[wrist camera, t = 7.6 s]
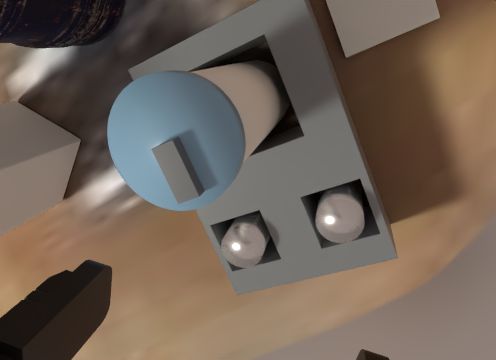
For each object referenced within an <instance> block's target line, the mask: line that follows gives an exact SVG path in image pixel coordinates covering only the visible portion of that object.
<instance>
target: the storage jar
mask: <svg viewBox="0 0 496 360" xmlns="http://www.w3.org/2000/svg"><path fill="white" fill-rule="evenodd" d="M125 4H126V0H0V43H13V44H15V45H18V46H24V47H31V48H60V47H68V46H84V45H90V44H94V43H96V42H98V41H101V40H102V39H103V38H105V37H106V36H108V35H109V34H110V33H111V32H112V31H113V30H114V28H115V27H116V25H117V24H118V22H119V20H120V18H121V16H122V14H123V11H124V8H125Z"/></svg>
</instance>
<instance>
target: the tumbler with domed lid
mask: <svg viewBox="0 0 496 360" xmlns="http://www.w3.org/2000/svg"><path fill="white" fill-rule="evenodd" d="M289 102H290V98H289V95H288V93H287V90H286V88H285V85H284V82H283V80H282V77H281V75H280V72H279V70H278V69H277V68H276V67H275V66H273V65H271V64H270V63H267V62H264V61H259V60H253V61H246V62H241V63H235V64H230V65H225V66H219V67H214V68H209V69H203V70H198V71H193V72H187V71H178V70H173V71H163V72H157V73H152V74H148V75H145V76H142V77H140V78H138V79H136V80H135V81H133V82H131V83H130V84H129V85H128V86H126V87H125V88H124V89H123V91H122V92H121V93H120V94H119V95H118V97H117V99H116V100H115V102H114V104H113V106H112V109H111V112H110V115H109V119H108V127H107V137H108V145H109V150H110V154H111V157H112V160H113V162H114V164H115V166H116V168H117V170H118V172H119V174H120V175H121V177H122V178H123V179H124V181H125V182H126V183H127V184H128V185H129V187H130V188H131V189H132V190H133V191H135V192H136V193H137V194H138V195H139V196H141V197H142V198H144V199H145V200H147V201H149V202H150V203H152V204H154V205H157V206H159V207H162V208H166V209H170V210H177V211H187V210H194V209H198V208H201V207H204V206H206V205H208V204H210V203H212V202H213V201H215V200H216V199H217V198H219V197H220V196H221V195H222V194H223V193H224V192H225V191H226V189H227V188H228V187H229V186H230V185H231V183H232V182H233V181H234V180H235V178H236V177H237V175H238V173H239V171H240V169H241V167H242V164H243V162H244V161H245V160H246V159H247V158H248V157H249V156H250V154H251V153H252V152H253V151H254V150H255V149H256V148H257V146H258V145H259V144H260V143H261V142H262V141H263V140H264V139H265V137H266V136H267V135H268V134H269V133H270V132H271V131H272V129H273V128H274V127H275V126H276V125H277V124H278V123H279V121H280V120H281V119H282V118H283V117H284V115H285V113H286V111H287V109H288V106H289Z"/></svg>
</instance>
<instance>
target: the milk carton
mask: <svg viewBox="0 0 496 360" xmlns="http://www.w3.org/2000/svg"><path fill="white" fill-rule="evenodd" d="M80 142H81V140H80V139H79V138H78V137H76V136H74V135H73V134H71V133H69V132H68V131H66V130H64V129H63V128H61V127H59V126H57V125H56V124H54V123H52V122H51V121H49V120H47V119H45V118H44V117H42V116H40V115H39V114H37V113H35V112H34V111H32V110H30V109H28V108H27V107H25V106H23V105H22V104H20V103H18V102H16V101H13V102H7V103H1V104H0V236H2V235H4V234H5V233H7V232H9V231H11V230H13V229H14V228H16V227H18V226H20V225H21V224H23V223H25V222H27V221H29V220H30V219H32V218H34V217H36V216H38V215H39V214H41V213H43V212H45V211H47V210H48V209H50V208H52V207H54V206H55V205H57V204H59V203H61V202H62V200H63V197H64V193H65V190H66V187H67V184H68V181H69V177H70V174H71V171H72V168H73V164H74V161H75V158H76V155H77V152H78V148H79V145H80Z"/></svg>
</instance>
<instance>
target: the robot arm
mask: <svg viewBox="0 0 496 360" xmlns="http://www.w3.org/2000/svg"><path fill="white" fill-rule="evenodd" d="M111 282H112V268H111V267H110V266H108V265H104V264H101V263H98V262H95V261H92V260H86V261H85V262H83V263H82V264H81V265H80V266H79V267H78V268H76V269H75V270H74V271H73V272H71V271H68V270H65V271H63V272H61V273H58V274H56V275H54V276H52V277H49V278H48V279H47V280H46V281H44V282H43V283H42V284H41V285H40V286H38V287H37V288H36V290H35V291H32V292H31V293H30V294H29V295H28V296H26V297H25V299H24V300H21V301H20V302H19V303H18V304H17V305H15V306H14V307H13V308H12V309H11V310H9V311H8V312H7V313H6V314H5V315H3V316H2V317H1V318H0V360H71V359H72V358H73V357H74V356H75V354H76V353H77V352H78V351H79V350H80V348H81V347H82V346H83V345H84V344H85V342H86V341H87V340H88V339H89V338H90V336H91V335H92V334H93V333H94V332H95V330H96V329H97V328H98V327H99V326H100V324H101V323H102V322H103V320H104V319H105V317H106V315H107V312H108V310H109V306H110V297H111ZM356 360H389V358H388V357H385V356H382V355H379V354H376V353H373V352H370V351H367V350H364V349H362V350H361V351H360V353H359V355H358V357H357V359H356Z"/></svg>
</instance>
